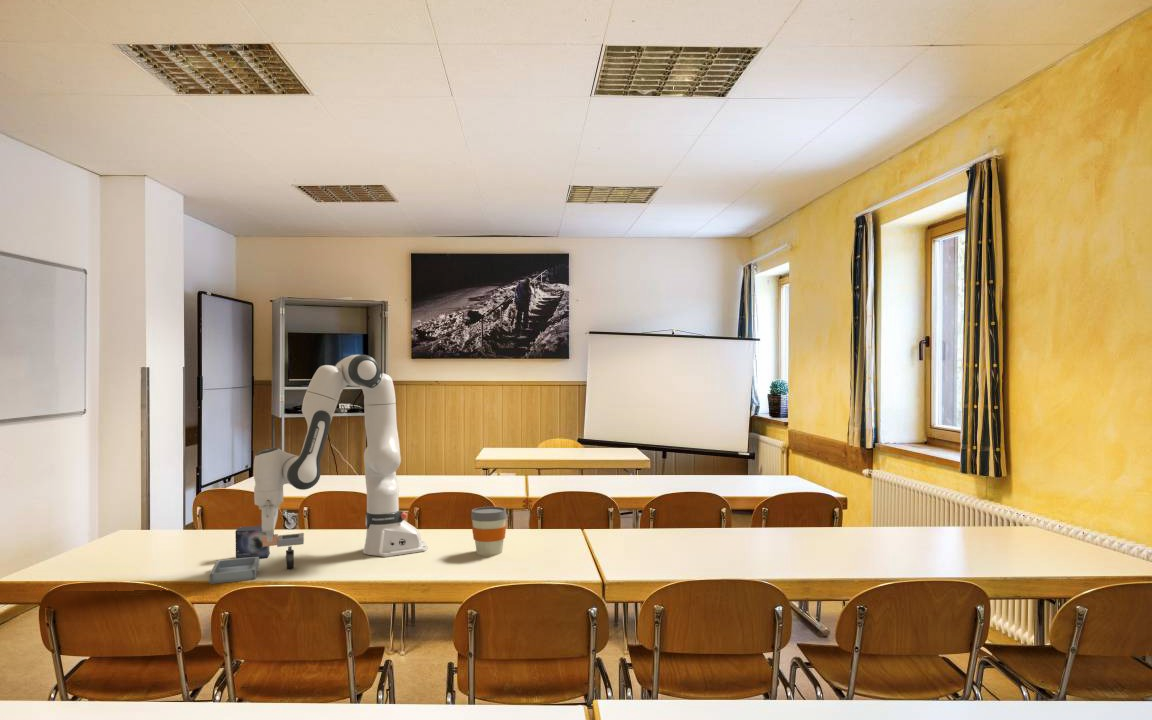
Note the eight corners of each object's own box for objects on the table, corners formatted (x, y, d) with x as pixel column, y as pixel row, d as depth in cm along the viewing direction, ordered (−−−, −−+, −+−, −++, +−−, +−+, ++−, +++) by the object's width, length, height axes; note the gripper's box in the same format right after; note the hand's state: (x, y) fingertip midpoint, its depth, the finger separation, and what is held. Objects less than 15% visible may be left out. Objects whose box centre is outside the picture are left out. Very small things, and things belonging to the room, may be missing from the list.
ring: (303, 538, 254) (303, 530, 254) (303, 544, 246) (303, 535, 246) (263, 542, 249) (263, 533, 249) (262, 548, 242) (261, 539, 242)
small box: (235, 561, 259) (234, 530, 259) (238, 556, 266) (237, 526, 266) (267, 558, 262) (267, 528, 262) (270, 554, 268) (269, 524, 268)
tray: (259, 565, 253) (259, 556, 253) (255, 579, 237) (255, 569, 237) (217, 569, 249) (216, 560, 249) (209, 583, 232) (209, 574, 232)
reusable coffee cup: (501, 557, 257) (500, 513, 258) (466, 556, 260) (465, 513, 260) (511, 548, 270) (511, 506, 270) (478, 547, 272) (477, 506, 272)
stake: (294, 567, 250) (293, 546, 250) (293, 569, 247) (293, 548, 247) (286, 567, 249) (286, 546, 249) (286, 570, 246) (285, 548, 246)
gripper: (277, 502, 238) (279, 546, 238) (280, 492, 257) (282, 532, 257) (256, 504, 236) (257, 548, 236) (260, 493, 255) (262, 534, 255)
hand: (270, 539), depth 246 cm, fingers closed on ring, 3 cm apart
